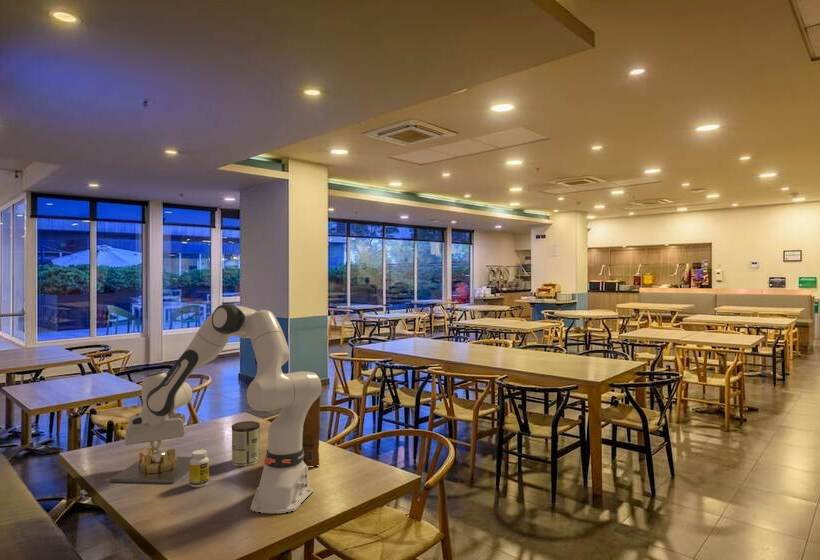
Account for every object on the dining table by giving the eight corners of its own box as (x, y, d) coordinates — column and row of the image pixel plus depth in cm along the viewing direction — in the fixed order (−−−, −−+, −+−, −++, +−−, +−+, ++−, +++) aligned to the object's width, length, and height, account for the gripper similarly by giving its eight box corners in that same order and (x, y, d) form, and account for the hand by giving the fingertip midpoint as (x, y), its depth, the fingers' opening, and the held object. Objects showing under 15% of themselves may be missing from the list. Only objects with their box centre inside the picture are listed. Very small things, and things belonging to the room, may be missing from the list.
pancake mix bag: (314, 471, 185) (314, 395, 185) (277, 461, 195) (277, 388, 195) (326, 465, 191) (327, 391, 190) (290, 455, 201) (290, 385, 201)
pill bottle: (201, 488, 169) (202, 455, 169) (185, 487, 171) (185, 454, 170) (212, 481, 175) (212, 449, 175) (196, 479, 177) (196, 448, 177)
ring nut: (182, 466, 185) (182, 451, 185) (149, 475, 177) (149, 460, 176) (165, 457, 194) (165, 444, 194) (133, 466, 185) (133, 451, 185)
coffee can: (238, 456, 200) (238, 420, 200) (263, 457, 199) (263, 421, 199) (226, 465, 190) (226, 428, 190) (253, 466, 189) (253, 429, 189)
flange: (173, 483, 173) (173, 464, 173) (110, 482, 174) (110, 463, 174) (202, 460, 195) (202, 443, 195) (146, 459, 196) (146, 442, 196)
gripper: (184, 410, 198) (185, 445, 198) (124, 417, 189) (125, 454, 189) (185, 414, 193) (186, 450, 193) (124, 421, 183) (124, 459, 183)
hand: (155, 452), depth 191 cm, fingers closed
